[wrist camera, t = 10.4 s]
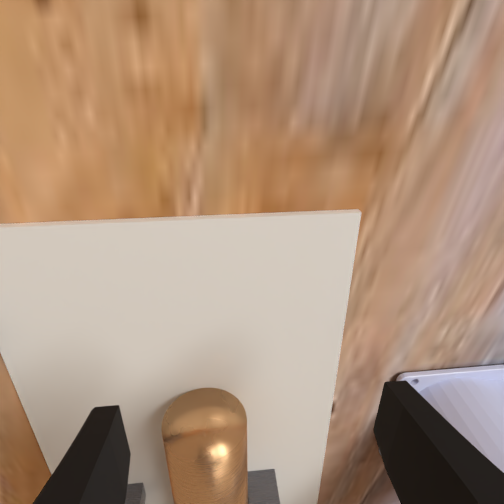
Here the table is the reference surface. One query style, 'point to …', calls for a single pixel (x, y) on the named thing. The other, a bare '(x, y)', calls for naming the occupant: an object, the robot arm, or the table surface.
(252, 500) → the grey arch
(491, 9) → the table surface
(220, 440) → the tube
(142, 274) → the hearth board
